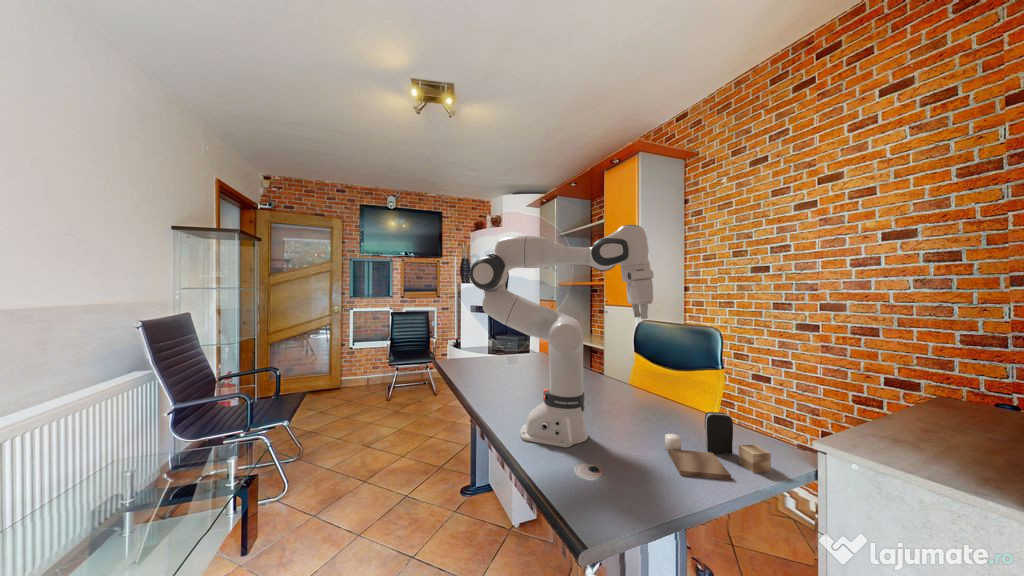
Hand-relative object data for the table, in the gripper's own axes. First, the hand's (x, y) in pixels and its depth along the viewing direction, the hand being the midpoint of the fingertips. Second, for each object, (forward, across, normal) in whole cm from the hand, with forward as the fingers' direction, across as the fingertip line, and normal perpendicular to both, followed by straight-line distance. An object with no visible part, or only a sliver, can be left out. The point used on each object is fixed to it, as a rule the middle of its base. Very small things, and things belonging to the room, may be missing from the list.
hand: (640, 318), depth 108 cm
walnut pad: (+41, +12, +8) cm, 43 cm away
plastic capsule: (+40, +3, +5) cm, 40 cm away
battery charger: (+41, +2, +18) cm, 45 cm away
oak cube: (+42, +11, +23) cm, 49 cm away
